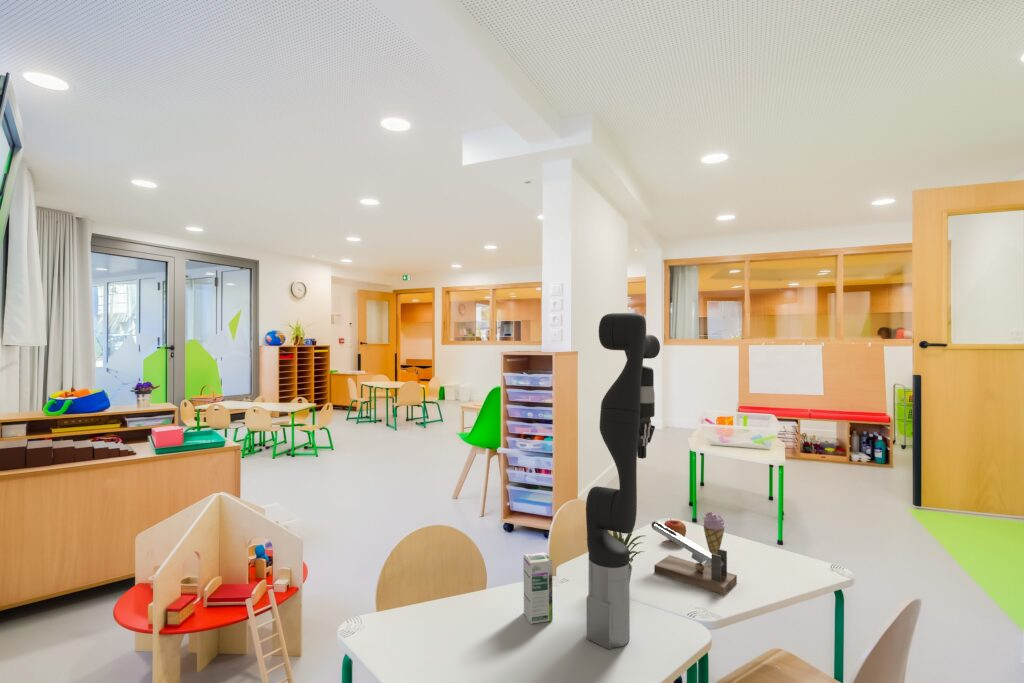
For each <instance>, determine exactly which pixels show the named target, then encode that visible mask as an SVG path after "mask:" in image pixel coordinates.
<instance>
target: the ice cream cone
mask: <svg viewBox="0 0 1024 683" xmlns="http://www.w3.org/2000/svg"><path fill="white" fill-rule="evenodd" d="M702 520H703V531H704V535H705V540H706V544H707V547H708V551H709V552H710V553H713V554H716V555H717V549H721V545H722V541H723V538H724V532H725V528H726V526H725V519H724V518H723V517H722V515H720V514H718V513H715V512H713V511H707V513H705V516H704V517H702Z"/></svg>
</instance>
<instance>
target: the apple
mask: <svg viewBox="0 0 1024 683" xmlns="http://www.w3.org/2000/svg"><path fill="white" fill-rule="evenodd" d="M669 519H670V520H666V521H665V522H664V524H663V525H664V526H666V527H668V528H669V529H671V530H673V531H674V532H676V533H678V534H680V535H681V536H683V537H685V538H686V534H687V527H686V524H685V523H683V522H682V521H680V520H675V519H674V520H672V518H669ZM668 540H669V541H670V542H671V543H673V541H672V540H670V539H668Z"/></svg>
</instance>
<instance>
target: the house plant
mask: <svg viewBox="0 0 1024 683" xmlns="http://www.w3.org/2000/svg"><path fill="white" fill-rule="evenodd" d="M634 530H635V528H633V530H632V532H630V533H628V534H627V535H626V537H623V533H619V532H614V531H612V536H613V537H614V538H616V539H617V540H619V541H620V542H622V543H623V544H625V545H626V546H627V547H628V549H629V548H630V547H631V545H633V546H632V547H631V548H630V549H629V554H630V555H632V554H633V555H632V556H631V557H630V561H629V585H630V583H631V577H632V570H633V565H632V562H633V561H634V557H635V556H637V555H638V554H639V555H640V556H642V555H641V553H645V552H646V551H644V550H640V551H636V550H633V549H634V547H636V546H637V545H639V544H643V542H641V541H640V542H637V543H634V542H635V541H636V540H639V538H642V537H645V535H644V534H643V535H638V536H635V537H634V538H633V539H631V537H632V535H633V531H634ZM630 539H631V541H630ZM629 541H630V542H629Z"/></svg>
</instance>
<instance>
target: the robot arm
mask: <svg viewBox="0 0 1024 683" xmlns="http://www.w3.org/2000/svg"><path fill="white" fill-rule="evenodd" d="M598 340H599V342H600V345H601V346H602V347H603V348H604V349H606V350H609V351H624V353H625V357H626V362H625V364H624V367H623V369H622V371H620V372H621V373H620V374H619V375H618V377H617V378H616V379H615V381H614V382H613V383H612V385H611V386H610V387H609V389H608V390H607V391H606V393H605V394H604V396H603V399H602V400H601V404H600V414H599V433H600V435H601V438H602V440H603V442H604V444H605V447H606V448H607V449H608V451H609V453H610V456H611V457H612V460H613V462H614V464H615V466H616V470H617V474H618V482H619V489H618V488H611V487H605V486H592V488H590V490H589V491H588V493H587V496H586V503H585V519H586V520H585V521H586V541H587V542H586V543H587V544H586V545H587V546H586V547H587V551H588V575H587V576H588V578H587V579H588V582H587V583H588V588H587V589H588V595H587V596H586V639H587V640H589V641H591V642H593V643H595V644H597V645H599V646H601V647H603V648H605V649H607V650H612V649H613V648H620V647H623V646H626V645H627V644H628V643H629V642H630V636H631V635H630V632H631V631H630V630H631V629H630V627H631V626H630V625H631V624H630V622H631V620H630V619H631V618H630V617H631V616H630V613H631V612H630V610H631V609H630V607H631V606H630V604H631V602H630V584H629V563H630V558H631V557H630V555H631V554H629V551H630V549H629V548H628V547H627V546H626V545H625V544H623V543H622V542H620V541H619V540H617V539H616V538H614V537H613V534H611V533H610V532H613V531H614V532H617V533H618V534H619V533H621V534H627V535H628V533H630V532H632V530H633V529H635V526H636V521H637V511H638V510H637V508H638V505H637V503H638V496H637V493H638V491H637V490H638V488H637V487H638V486H637V484H638V483H637V481H638V479H637V478H638V477H637V470H638V469H637V468H638V467H637V462H638V461H637V460H638V459H642V460H643V459H646V458H647V446H648V445H649V444H650V443H651V441H652V438H653V435H654V432H655V429H656V425H654V424H653V425H652V419H651V418H653V417H655V409H656V408H655V406H656V405H655V397H656V396H655V387H654V385H655V384H654V383H655V382H654V375H655V374H654V369H653V368H652V367H650V366H646V365H644V359H645V360H646V359H655V358H656V357H657V356H658V355H660V354H659V353H660V350H661V344H660V341H659V339H658V338H657V337H656V336H655V335H653V334H650V333H649V334H648V333H647V322H646V318H645V315H643V313H639V312H638V313H637V312H634V313H633V312H628V313H626V312H619V313H618V312H616V313H615V312H613V313H608V314H605V315H603V316H602V317H601V319H600V321H599V324H598ZM637 458H638V459H637ZM633 531H634V530H633ZM632 533H633V532H632Z"/></svg>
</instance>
